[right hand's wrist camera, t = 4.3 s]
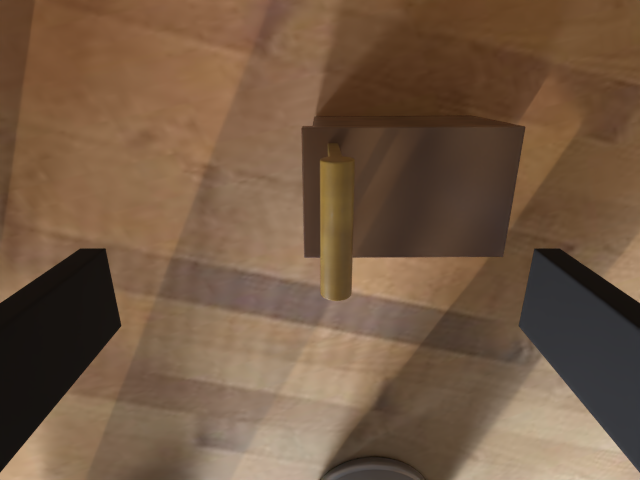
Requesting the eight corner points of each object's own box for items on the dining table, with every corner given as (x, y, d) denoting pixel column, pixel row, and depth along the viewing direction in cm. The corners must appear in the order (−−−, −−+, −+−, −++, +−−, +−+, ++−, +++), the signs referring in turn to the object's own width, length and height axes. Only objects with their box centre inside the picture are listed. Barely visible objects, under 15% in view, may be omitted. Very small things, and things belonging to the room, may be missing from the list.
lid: (304, 252, 30) (298, 315, 22) (302, 126, 27) (294, 143, 19) (497, 251, 30) (564, 314, 22) (518, 124, 27) (605, 142, 19)
